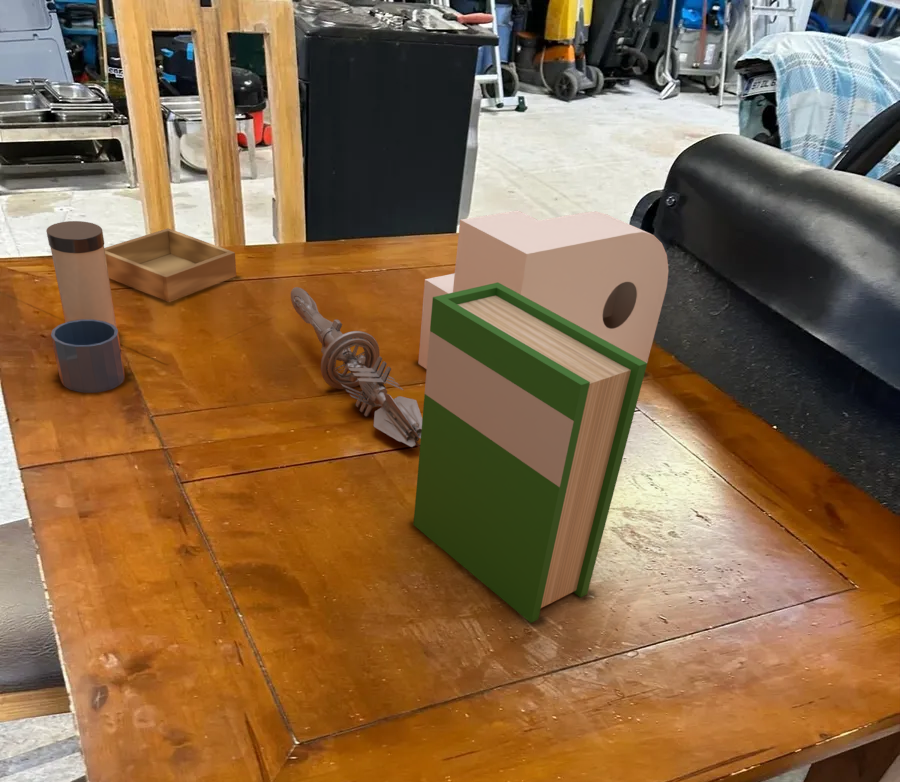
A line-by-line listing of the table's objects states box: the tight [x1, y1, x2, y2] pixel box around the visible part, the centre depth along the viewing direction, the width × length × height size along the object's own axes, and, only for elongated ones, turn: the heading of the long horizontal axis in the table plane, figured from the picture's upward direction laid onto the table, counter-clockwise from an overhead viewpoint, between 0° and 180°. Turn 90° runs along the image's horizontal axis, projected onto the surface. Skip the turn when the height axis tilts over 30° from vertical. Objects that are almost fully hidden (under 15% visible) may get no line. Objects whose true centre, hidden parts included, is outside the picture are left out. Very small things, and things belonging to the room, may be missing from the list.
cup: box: [50, 319, 126, 394], centre depth 104 cm, size 7×7×6 cm
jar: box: [45, 220, 118, 329], centre depth 109 cm, size 6×6×14 cm
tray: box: [104, 227, 237, 303], centre depth 130 cm, size 14×14×4 cm
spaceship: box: [290, 286, 423, 449], centre depth 108 cm, size 8×35×8 cm
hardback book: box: [412, 282, 648, 624], centre depth 80 cm, size 18×7×24 cm, turn 39°
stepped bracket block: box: [417, 210, 670, 370], centre depth 113 cm, size 26×17×20 cm, turn 128°
